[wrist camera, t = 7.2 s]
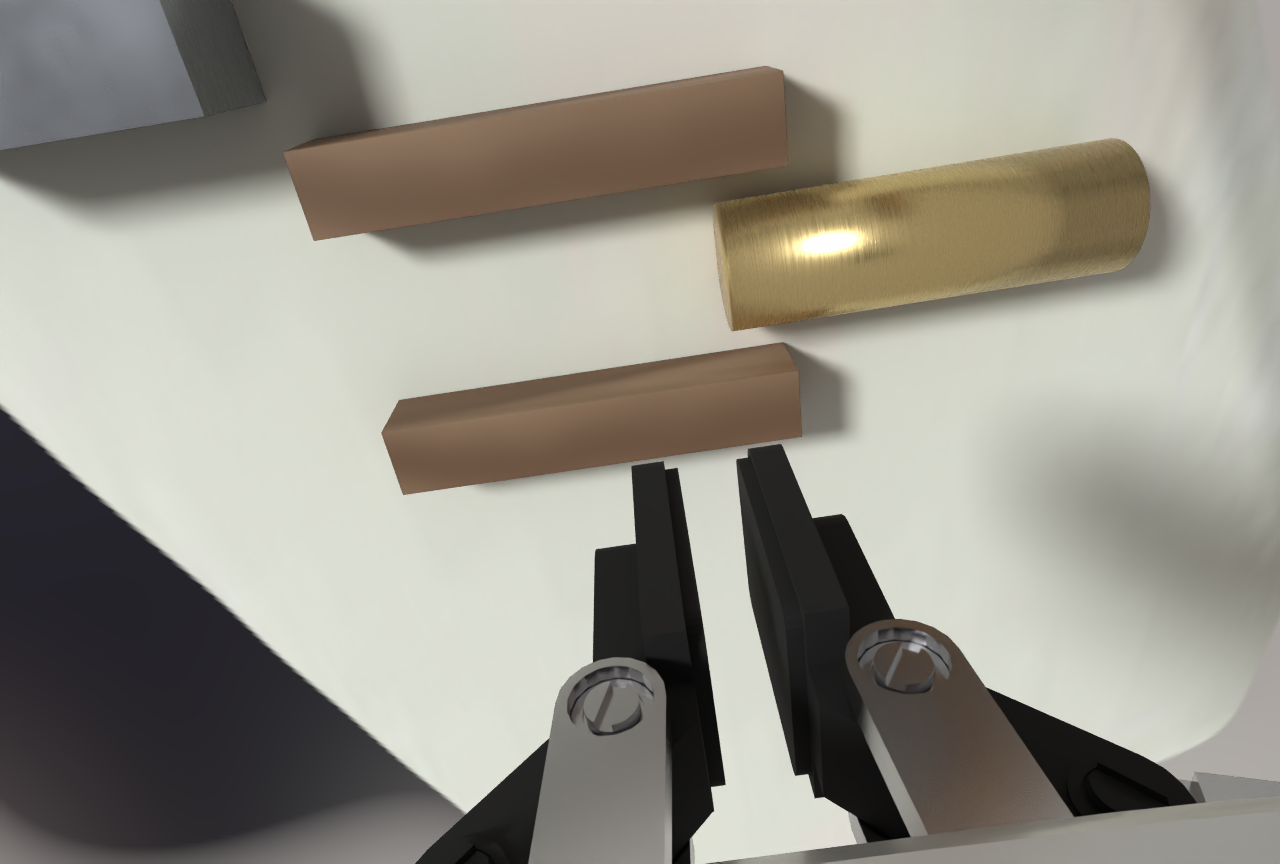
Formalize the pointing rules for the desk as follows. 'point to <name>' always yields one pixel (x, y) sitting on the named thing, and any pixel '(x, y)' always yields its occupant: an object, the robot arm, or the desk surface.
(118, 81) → the v block
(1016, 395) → the desk surface
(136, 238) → the desk surface
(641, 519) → the robot arm
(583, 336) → the desk surface
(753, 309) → the axle
